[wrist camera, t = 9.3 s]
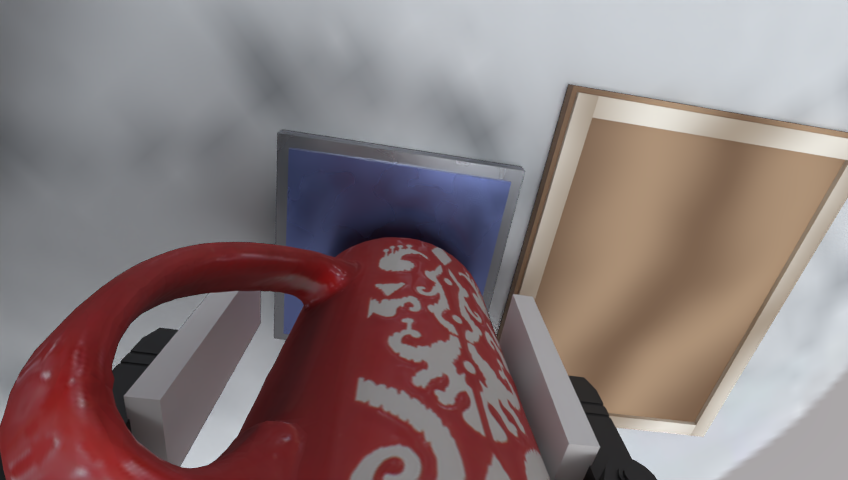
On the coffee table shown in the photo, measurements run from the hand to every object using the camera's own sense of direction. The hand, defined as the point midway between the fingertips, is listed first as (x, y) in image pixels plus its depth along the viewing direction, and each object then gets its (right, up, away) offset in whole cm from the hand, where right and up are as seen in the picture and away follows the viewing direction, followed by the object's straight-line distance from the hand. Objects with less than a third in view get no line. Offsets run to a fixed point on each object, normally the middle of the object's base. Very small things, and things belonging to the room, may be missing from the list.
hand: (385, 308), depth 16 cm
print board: (+12, 0, +5) cm, 13 cm away
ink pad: (0, +2, +4) cm, 4 cm away
